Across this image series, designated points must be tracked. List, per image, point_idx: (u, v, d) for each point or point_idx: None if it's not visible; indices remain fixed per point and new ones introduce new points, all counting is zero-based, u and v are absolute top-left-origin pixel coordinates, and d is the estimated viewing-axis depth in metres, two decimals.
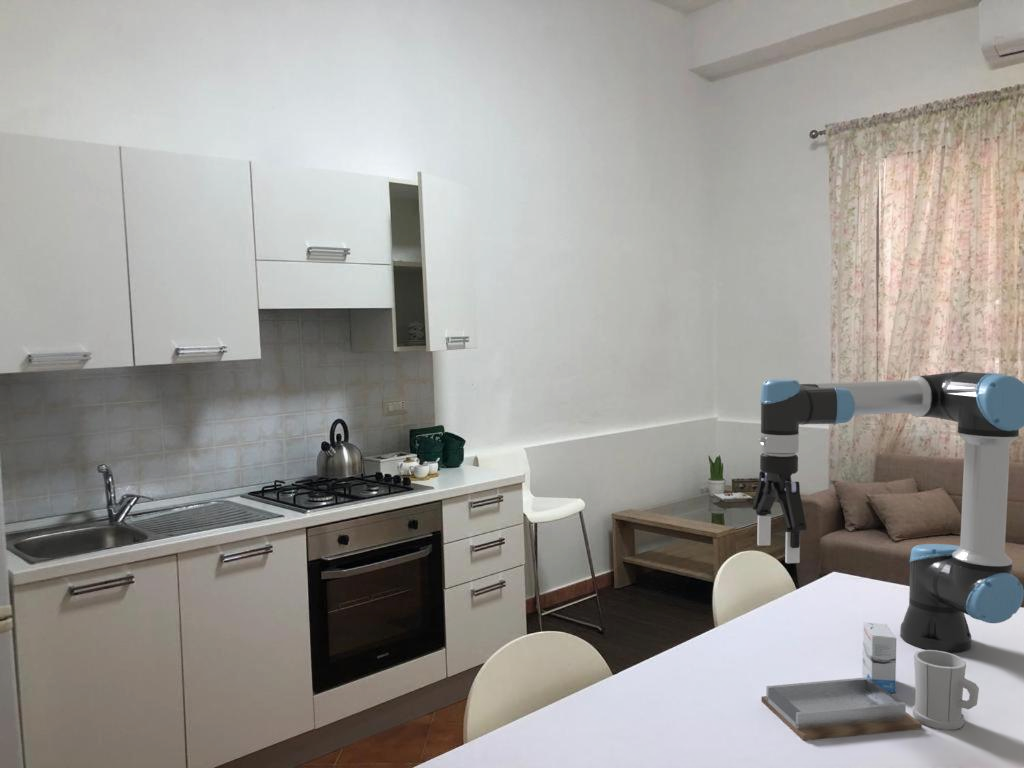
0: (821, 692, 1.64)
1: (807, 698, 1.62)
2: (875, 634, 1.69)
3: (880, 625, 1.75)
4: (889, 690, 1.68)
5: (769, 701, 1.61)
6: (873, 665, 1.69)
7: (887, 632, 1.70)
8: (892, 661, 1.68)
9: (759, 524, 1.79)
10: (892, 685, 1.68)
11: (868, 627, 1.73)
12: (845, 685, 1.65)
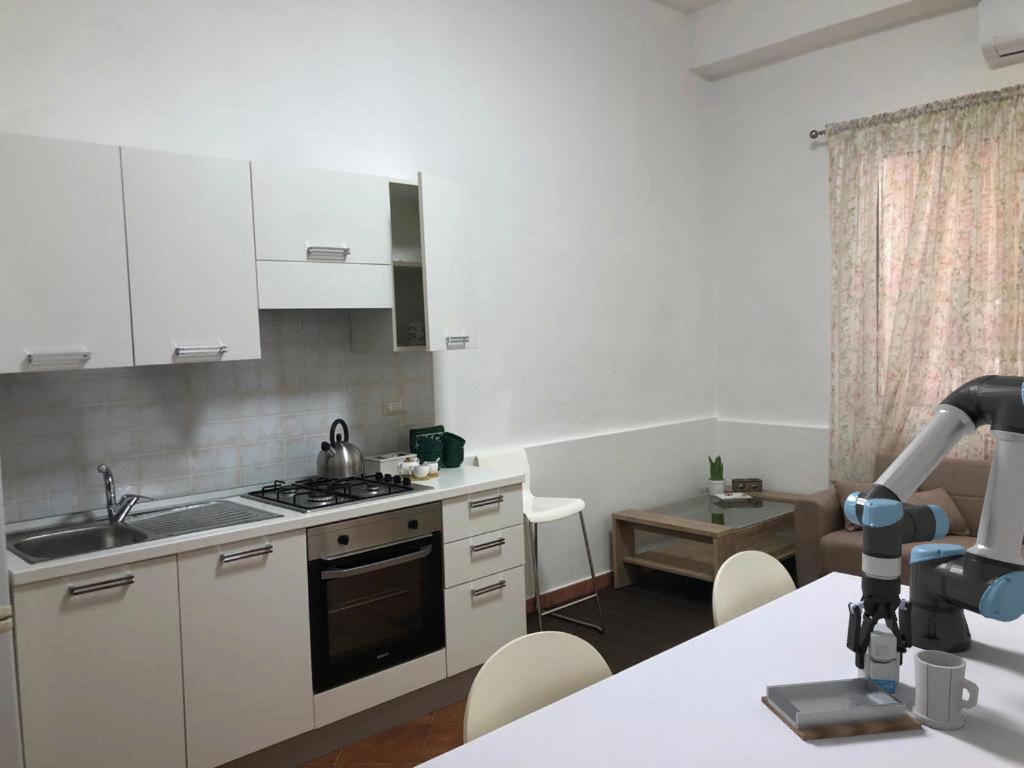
0: (821, 692, 1.64)
1: (807, 698, 1.62)
2: (875, 634, 1.69)
3: (880, 625, 1.74)
4: (889, 690, 1.68)
5: (769, 701, 1.61)
6: (873, 665, 1.69)
7: (888, 632, 1.70)
8: (892, 661, 1.68)
9: None
10: (892, 685, 1.68)
11: None
12: (845, 685, 1.65)
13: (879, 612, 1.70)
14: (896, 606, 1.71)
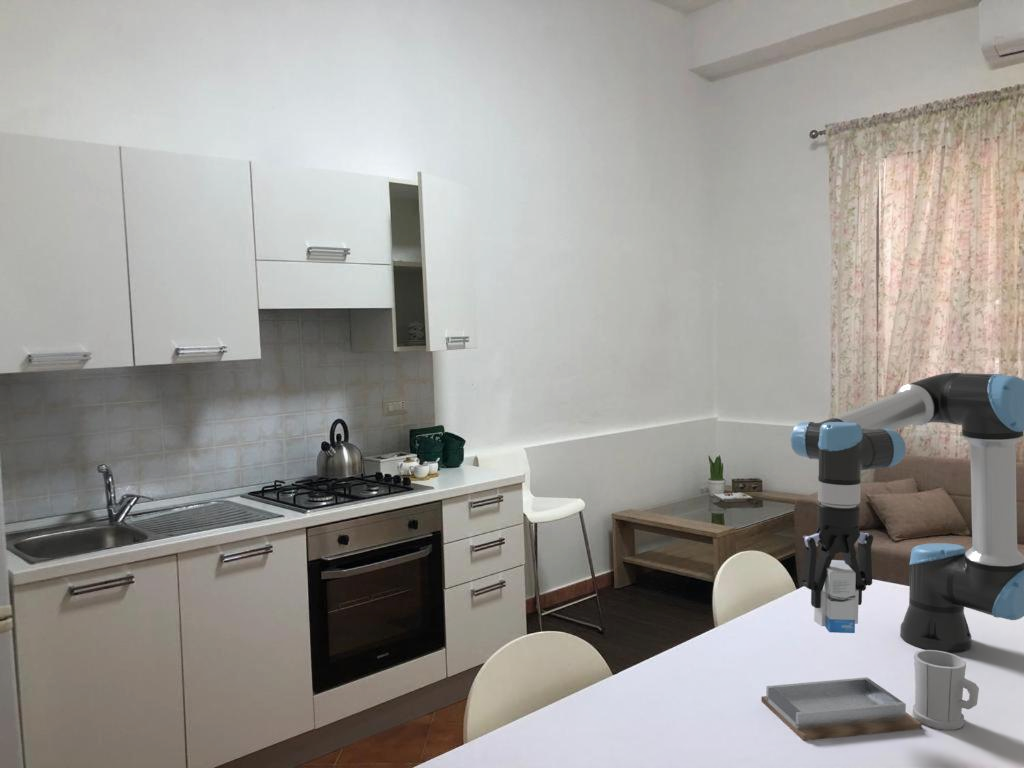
0: (821, 692, 1.64)
1: (807, 698, 1.62)
2: (832, 570, 1.54)
3: (837, 561, 1.59)
4: (848, 630, 1.53)
5: (769, 701, 1.61)
6: (831, 603, 1.53)
7: (846, 568, 1.55)
8: (851, 599, 1.53)
9: None
10: (852, 625, 1.53)
11: None
12: (845, 685, 1.65)
13: (836, 545, 1.55)
14: (855, 539, 1.56)
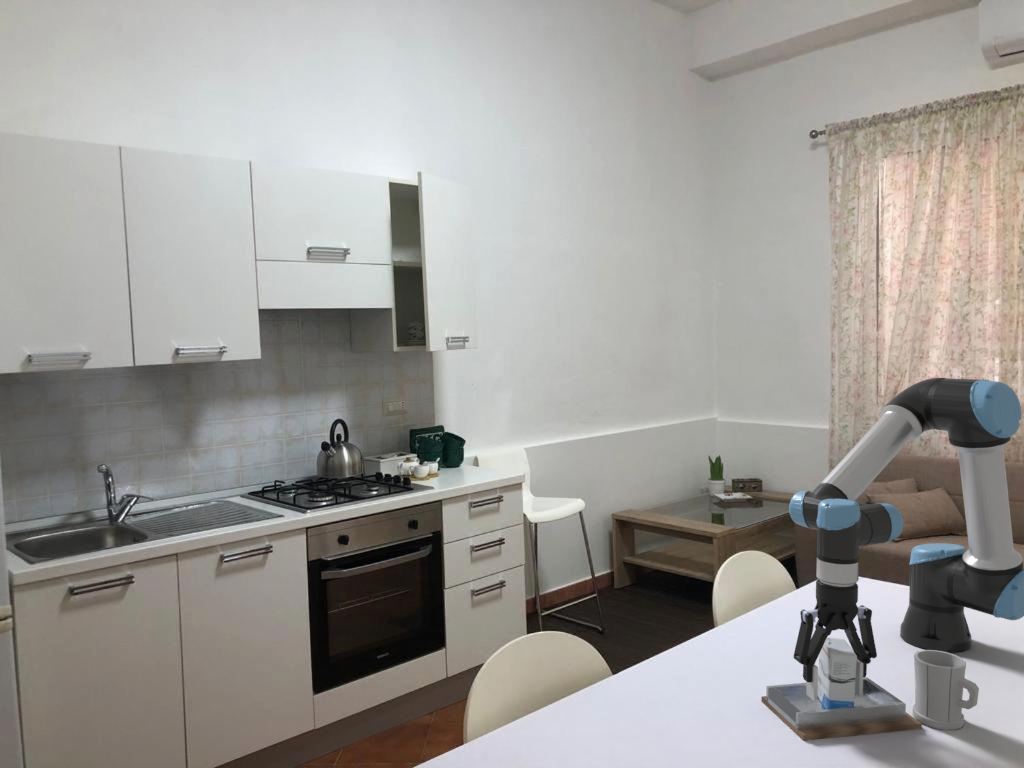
0: None
1: (807, 698, 1.62)
2: (834, 651, 1.55)
3: (838, 640, 1.61)
4: None
5: (769, 701, 1.61)
6: (831, 684, 1.54)
7: (847, 649, 1.56)
8: (852, 681, 1.54)
9: None
10: None
11: (826, 643, 1.59)
12: None
13: (834, 622, 1.56)
14: (853, 616, 1.57)
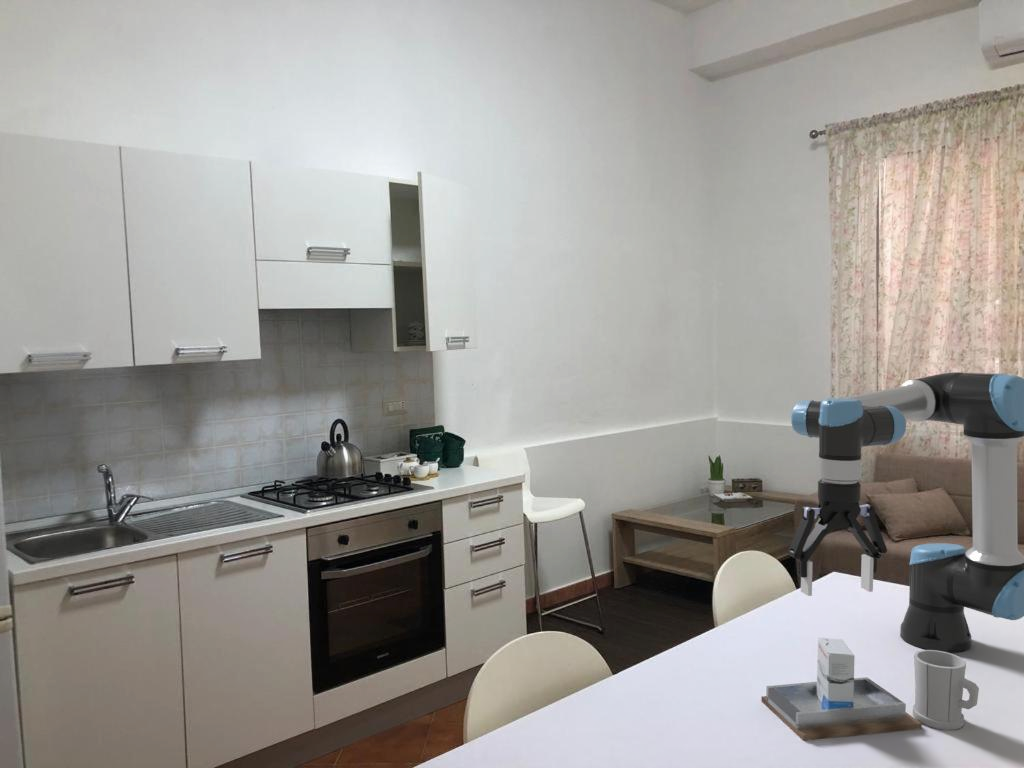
0: None
1: (807, 698, 1.62)
2: (831, 651, 1.55)
3: (836, 641, 1.61)
4: None
5: (769, 701, 1.61)
6: (830, 685, 1.54)
7: (844, 649, 1.56)
8: (850, 681, 1.54)
9: (862, 564, 1.59)
10: None
11: (823, 643, 1.59)
12: None
13: (836, 521, 1.54)
14: (855, 515, 1.56)
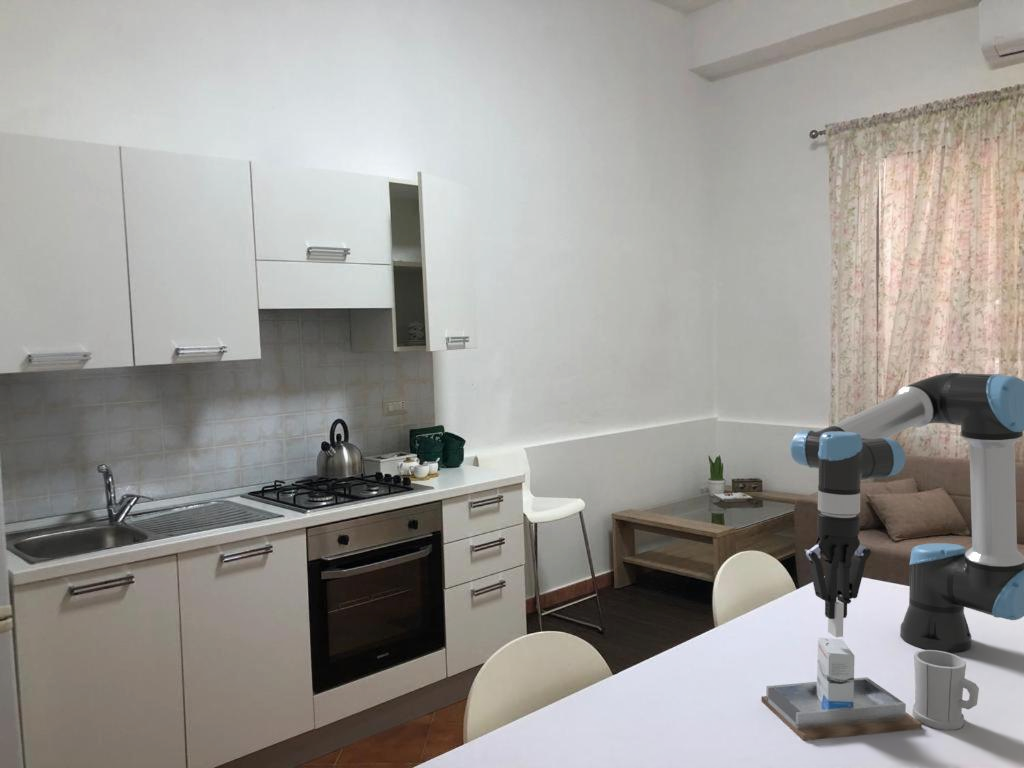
0: None
1: (807, 698, 1.62)
2: (831, 651, 1.55)
3: (836, 641, 1.61)
4: None
5: (769, 701, 1.61)
6: (830, 685, 1.54)
7: (844, 649, 1.56)
8: (850, 681, 1.54)
9: None
10: None
11: (823, 643, 1.59)
12: None
13: (836, 554, 1.55)
14: (855, 548, 1.56)
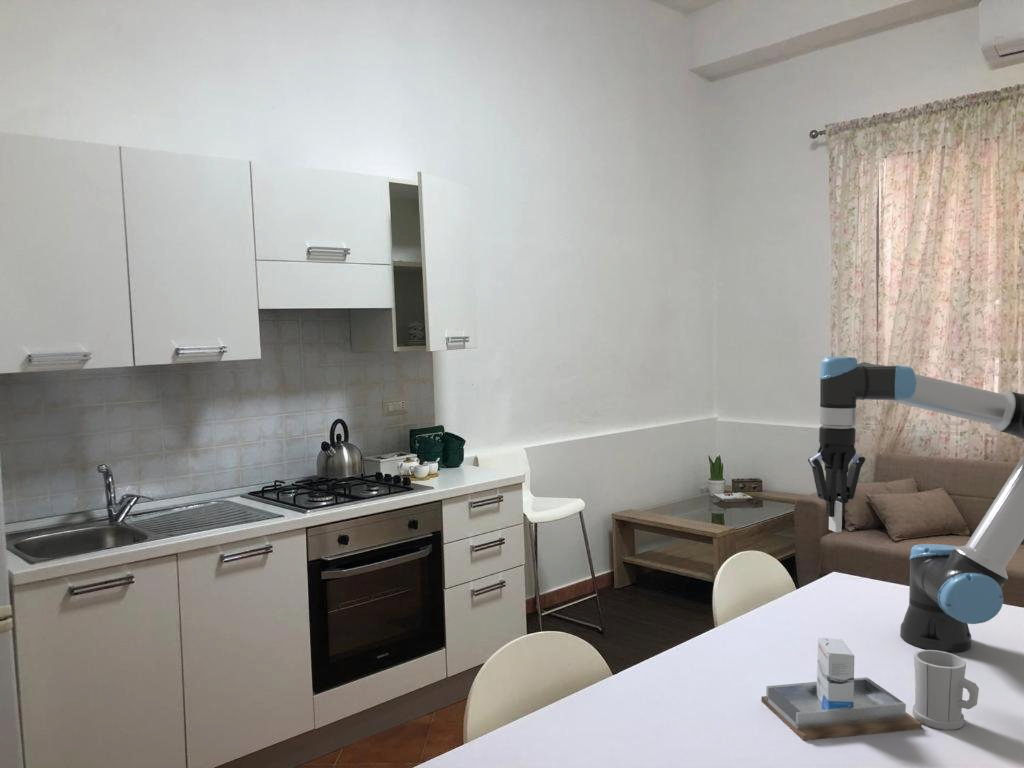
0: None
1: (807, 698, 1.62)
2: (831, 651, 1.55)
3: (836, 641, 1.61)
4: None
5: (769, 701, 1.61)
6: (830, 685, 1.54)
7: (844, 649, 1.56)
8: (850, 681, 1.54)
9: None
10: None
11: (823, 643, 1.59)
12: None
13: (835, 460, 1.81)
14: (851, 456, 1.82)
